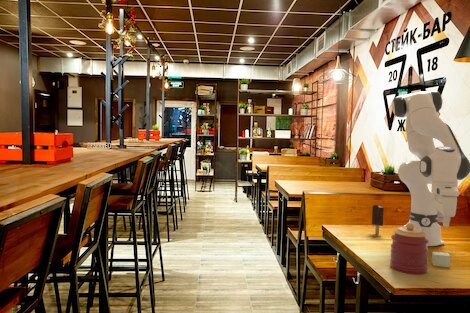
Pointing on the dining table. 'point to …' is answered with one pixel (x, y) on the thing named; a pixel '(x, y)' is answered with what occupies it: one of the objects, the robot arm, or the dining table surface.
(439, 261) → the sage block
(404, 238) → the canister
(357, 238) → the dining table surface
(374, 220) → the ice cream bar
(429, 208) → the robot arm
